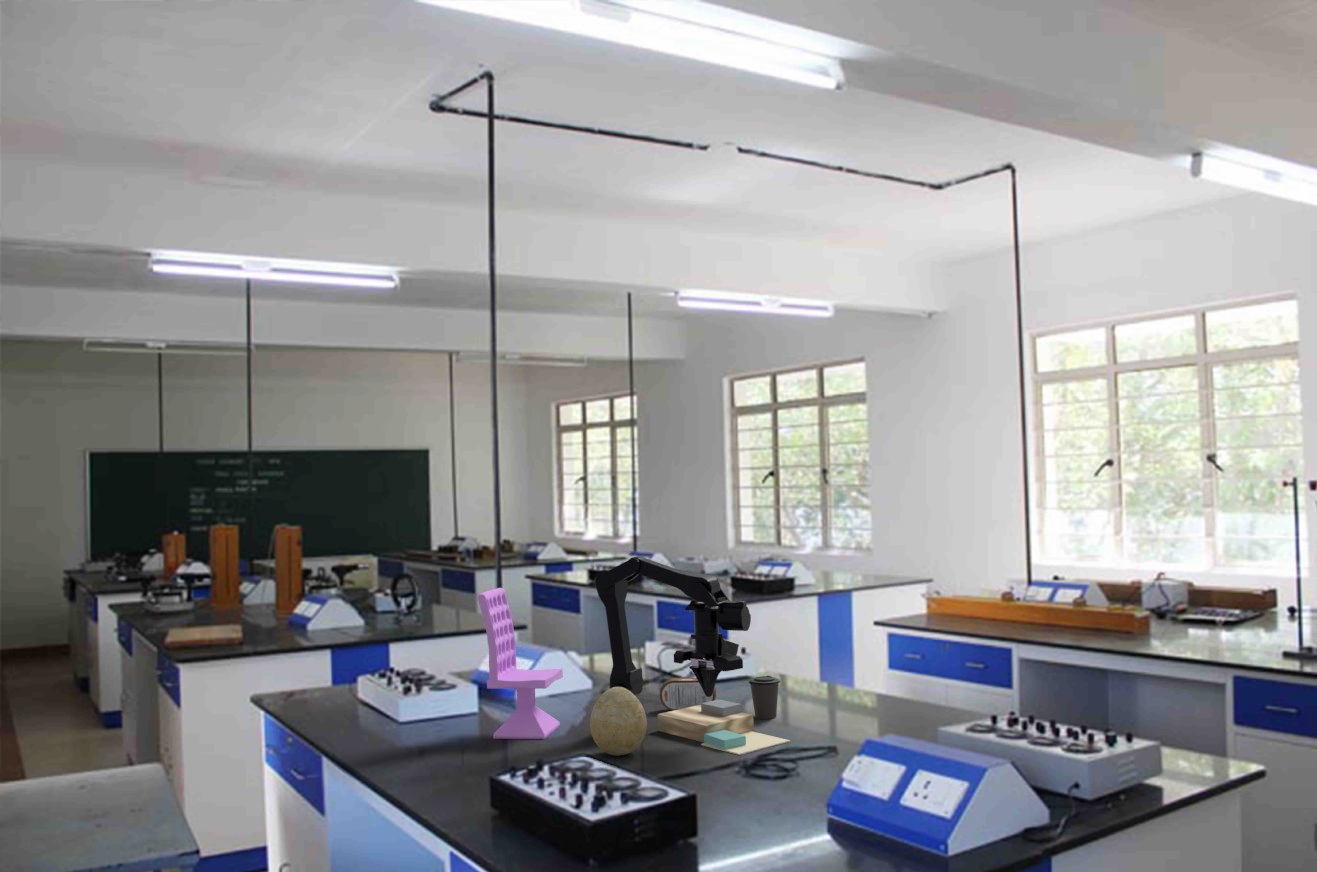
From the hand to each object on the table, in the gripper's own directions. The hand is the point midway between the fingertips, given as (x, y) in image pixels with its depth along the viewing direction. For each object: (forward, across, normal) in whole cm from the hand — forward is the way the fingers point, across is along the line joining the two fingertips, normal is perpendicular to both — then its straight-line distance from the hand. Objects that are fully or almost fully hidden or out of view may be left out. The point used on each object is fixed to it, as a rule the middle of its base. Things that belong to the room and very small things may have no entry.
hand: (708, 696), depth 243 cm
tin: (+10, +28, -17) cm, 34 cm away
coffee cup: (+10, +7, -25) cm, 28 cm away
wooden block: (+10, +7, -4) cm, 13 cm away
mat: (+10, -9, -3) cm, 14 cm away
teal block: (+10, -6, +1) cm, 12 cm away
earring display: (+10, +40, +27) cm, 49 cm away
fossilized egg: (+10, +5, +23) cm, 26 cm away
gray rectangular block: (+6, +6, -9) cm, 12 cm away
